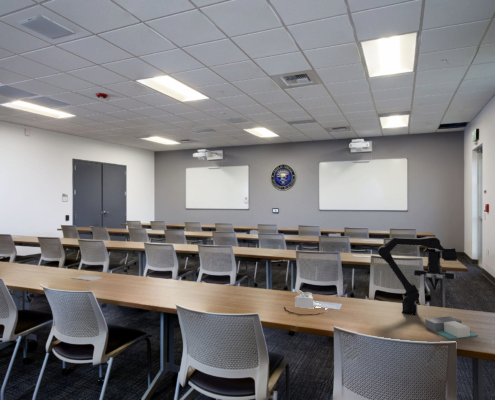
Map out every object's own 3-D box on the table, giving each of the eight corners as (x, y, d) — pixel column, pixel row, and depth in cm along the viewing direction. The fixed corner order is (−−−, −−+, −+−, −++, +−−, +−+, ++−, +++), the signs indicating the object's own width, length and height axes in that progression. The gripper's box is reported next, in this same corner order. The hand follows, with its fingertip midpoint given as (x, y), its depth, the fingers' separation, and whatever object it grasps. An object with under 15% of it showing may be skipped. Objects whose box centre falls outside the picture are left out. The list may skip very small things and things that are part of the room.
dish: (324, 317, 180) (323, 296, 181) (279, 312, 190) (278, 292, 190) (331, 304, 203) (330, 285, 203) (290, 301, 213) (290, 283, 213)
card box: (443, 322, 156) (457, 328, 148) (455, 321, 157) (469, 327, 149) (444, 331, 156) (458, 337, 148) (455, 329, 157) (469, 336, 149)
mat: (436, 332, 155) (436, 331, 155) (462, 329, 158) (462, 328, 158) (449, 339, 147) (449, 338, 147) (477, 336, 150) (477, 335, 150)
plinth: (425, 327, 162) (425, 318, 162) (450, 324, 165) (450, 316, 165) (435, 332, 156) (435, 323, 156) (461, 329, 158) (461, 320, 158)
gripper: (456, 259, 180) (457, 289, 180) (418, 257, 192) (419, 284, 192) (453, 262, 172) (454, 293, 171) (413, 260, 183) (414, 288, 183)
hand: (435, 290), depth 180 cm, fingers closed
